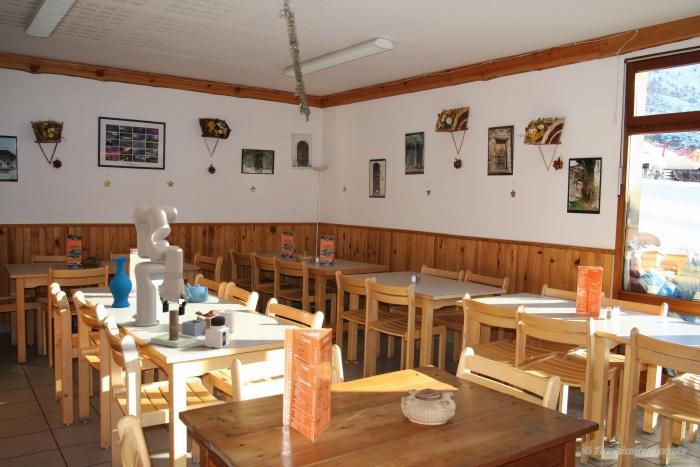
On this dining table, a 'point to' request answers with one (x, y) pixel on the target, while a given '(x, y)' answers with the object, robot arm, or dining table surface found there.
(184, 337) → the sage tray
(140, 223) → the robot arm
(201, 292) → the teapot
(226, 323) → the white cup
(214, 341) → the container
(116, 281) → the vase
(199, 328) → the blue-grey block
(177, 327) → the walnut dowel
